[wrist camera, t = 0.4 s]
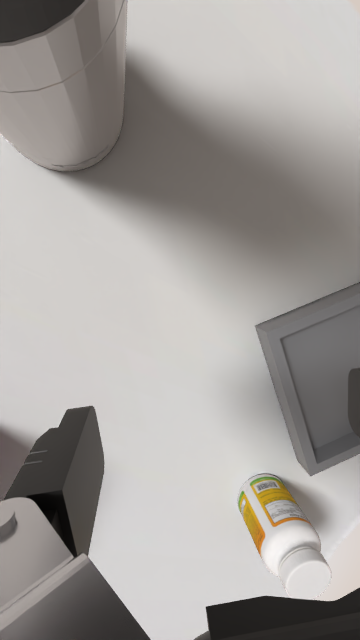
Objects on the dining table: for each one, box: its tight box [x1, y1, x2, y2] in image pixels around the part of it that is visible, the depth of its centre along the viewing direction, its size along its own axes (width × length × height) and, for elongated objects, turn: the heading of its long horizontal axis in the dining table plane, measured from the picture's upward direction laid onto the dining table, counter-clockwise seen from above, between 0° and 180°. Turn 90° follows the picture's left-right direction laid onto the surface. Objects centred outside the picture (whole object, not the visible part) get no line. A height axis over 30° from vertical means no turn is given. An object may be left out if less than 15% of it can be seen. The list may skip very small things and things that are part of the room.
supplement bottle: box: [237, 474, 331, 600], centre depth 31 cm, size 5×5×10 cm
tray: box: [255, 282, 360, 476], centre depth 33 cm, size 16×16×2 cm
